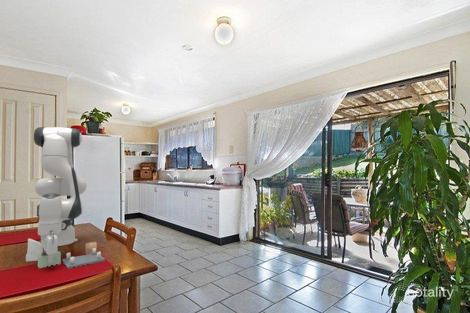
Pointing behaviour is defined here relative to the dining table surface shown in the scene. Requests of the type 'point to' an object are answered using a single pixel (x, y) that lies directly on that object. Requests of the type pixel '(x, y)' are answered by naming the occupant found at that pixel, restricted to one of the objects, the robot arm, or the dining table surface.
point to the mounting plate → (83, 259)
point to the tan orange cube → (90, 247)
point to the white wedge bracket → (33, 250)
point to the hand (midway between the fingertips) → (48, 260)
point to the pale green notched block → (44, 258)
